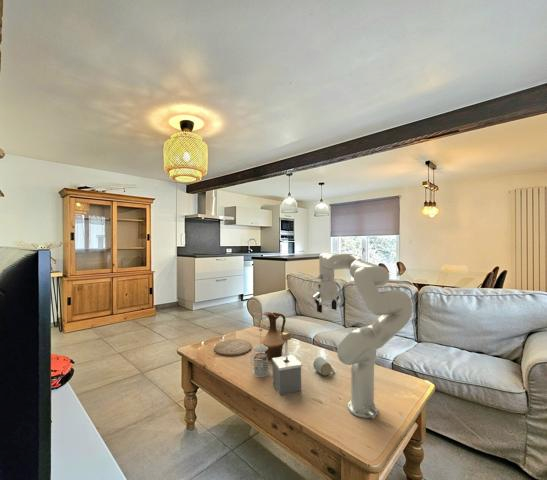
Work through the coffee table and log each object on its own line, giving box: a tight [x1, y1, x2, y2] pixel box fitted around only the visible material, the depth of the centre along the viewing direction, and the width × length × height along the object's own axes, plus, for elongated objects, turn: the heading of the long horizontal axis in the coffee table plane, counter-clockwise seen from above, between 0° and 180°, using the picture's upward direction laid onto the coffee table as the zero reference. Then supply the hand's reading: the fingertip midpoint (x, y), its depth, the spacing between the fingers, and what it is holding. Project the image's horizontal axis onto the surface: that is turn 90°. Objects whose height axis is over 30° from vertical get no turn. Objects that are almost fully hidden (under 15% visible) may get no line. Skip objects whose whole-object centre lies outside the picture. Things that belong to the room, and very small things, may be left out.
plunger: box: [280, 331, 292, 363], centre depth 144 cm, size 5×5×18 cm
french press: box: [250, 328, 271, 378], centre depth 158 cm, size 10×12×25 cm
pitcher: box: [259, 311, 287, 361], centre depth 180 cm, size 18×17×28 cm
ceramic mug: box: [312, 356, 335, 377], centre depth 159 cm, size 11×8×8 cm
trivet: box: [213, 338, 252, 357], centre depth 193 cm, size 25×25×2 cm
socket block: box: [271, 354, 303, 396], centre depth 146 cm, size 16×12×13 cm
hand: (326, 310), depth 147 cm, fingers open, 9 cm apart
